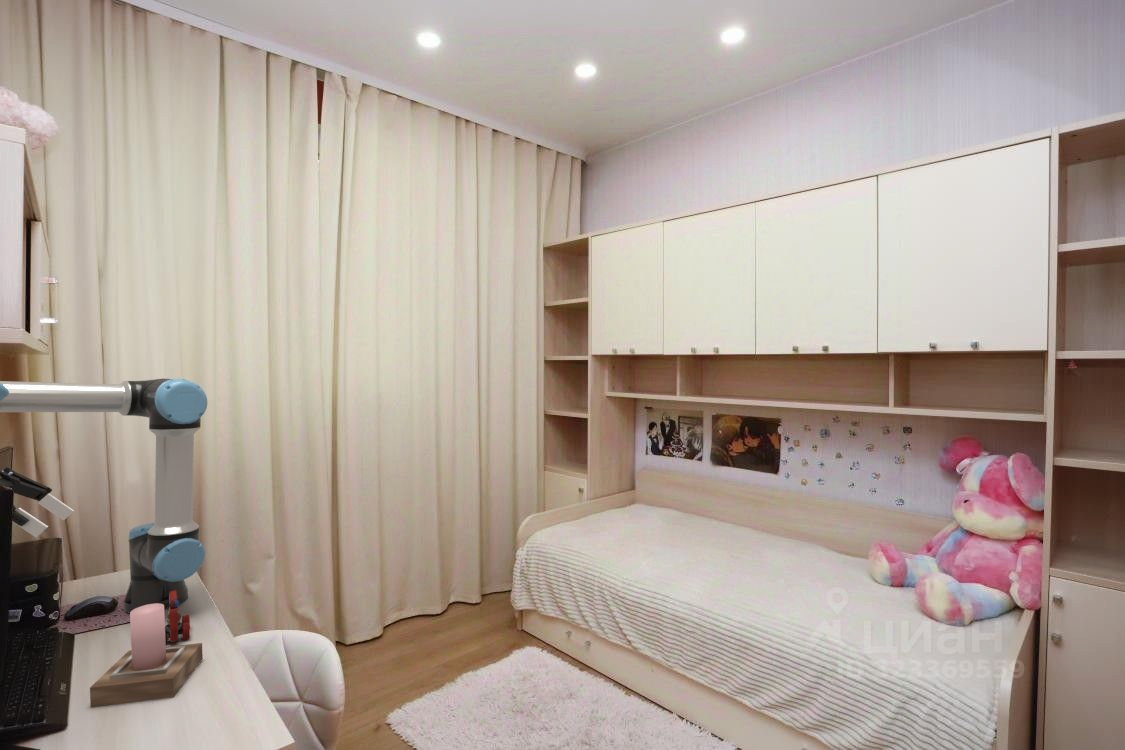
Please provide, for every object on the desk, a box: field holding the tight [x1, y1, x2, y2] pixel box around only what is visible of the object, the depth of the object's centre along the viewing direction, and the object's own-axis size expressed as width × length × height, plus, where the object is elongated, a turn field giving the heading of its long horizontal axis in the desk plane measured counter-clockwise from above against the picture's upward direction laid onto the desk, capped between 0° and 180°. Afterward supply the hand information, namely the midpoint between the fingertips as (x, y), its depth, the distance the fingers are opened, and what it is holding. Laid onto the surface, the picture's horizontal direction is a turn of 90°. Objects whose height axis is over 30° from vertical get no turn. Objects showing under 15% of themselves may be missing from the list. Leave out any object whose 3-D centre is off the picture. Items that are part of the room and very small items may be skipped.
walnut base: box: [89, 642, 204, 708], centre depth 125 cm, size 15×15×5 cm
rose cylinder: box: [129, 603, 167, 671], centre depth 125 cm, size 6×6×12 cm
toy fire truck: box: [165, 590, 191, 643], centre depth 144 cm, size 7×12×10 cm, turn 34°
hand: (56, 523), depth 128 cm, fingers open, 13 cm apart
